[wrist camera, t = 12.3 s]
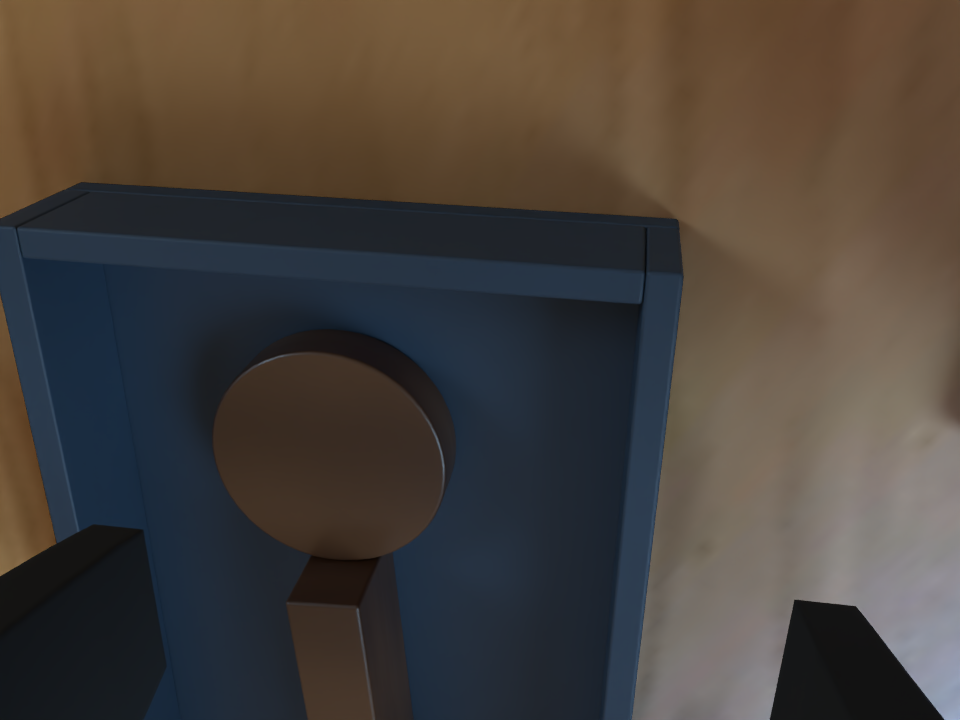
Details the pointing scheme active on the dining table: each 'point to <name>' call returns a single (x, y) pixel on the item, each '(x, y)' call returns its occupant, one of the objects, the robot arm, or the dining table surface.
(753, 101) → the dining table surface
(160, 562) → the tray
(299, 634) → the wooden spoon
